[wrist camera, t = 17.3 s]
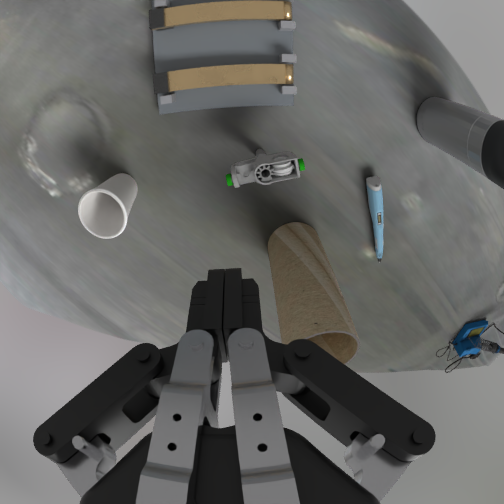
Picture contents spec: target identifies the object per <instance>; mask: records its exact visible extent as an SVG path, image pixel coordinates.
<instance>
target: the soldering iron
mask: <svg viewBox="0 0 504 504" xmlns="http://www.w3.org/2000/svg"><path fill="white" fill-rule="evenodd" d="M487 325H488V321H486V320H481V321H477V322H473V323H468V324H465V325H464V327H463V328H462V330H461V331H460V332H459V334H458V335H457V337H456V338H455V340H454V341H453V342H452V343H451V342H449V346H448V349H449V348H450V343H451V344H453V345H454V349H455V350H456V351H457V353H458V355H459V357H462V358H461V359H459V360H460V362H461V360H462V359H463V358H470V359H475V358H476V357H478V356H479V355H480V351H481V350H482V347H484V348H485V347H486V349H483V350H485V351H488V352H492V353H503V354H504V348H501V347H500V346H499V345H498V344H497V343H494V342H490V341H488V340H485V339H483V340H482V339H481V338H480V335H481V334H482V333H484V332H485V331H486V330H487V329H488V328H489V327H491V326H492V325H494V326H495V324H492V325H491V326H489V327H488V328H487V329H486V330H485V328H486V327H487ZM495 328H496V326H495ZM496 329H497V330H499V329H498V328H496ZM484 330H485V331H484ZM499 331H500V330H499ZM500 332H501V333H503V332H502V331H500ZM503 334H504V333H503ZM480 340H481V341H480ZM484 340H485V343H484ZM482 341H483V343H482ZM486 341H487V343H486ZM488 342H489V343H491V344H489V343H488ZM492 343H493V344H492ZM486 344H487V345H486ZM488 344H489V345H488ZM445 348H446V347H445ZM487 348H488V349H489V350H490V351H489V350H488V349H487ZM442 349H444V348H442ZM448 349H447V350H448ZM454 349H453V350H454ZM440 350H441V349H440ZM447 350H446V351H447ZM438 351H439V350H438ZM438 351H437V352H438ZM437 352H436V356H437ZM445 353H446V352H445ZM445 353H444V354H445ZM444 354H443V355H444ZM449 354H450V351H449ZM468 354H471V355H470V356H469V357H463V356H465V355H468ZM443 355H442V356H443ZM458 355H457V356H458ZM437 357H439V356H437ZM440 357H441V356H440ZM448 357H449V355H448ZM455 357H456V356H455ZM455 357H454V358H455ZM452 359H453V358H452ZM459 360H457V361H459ZM447 361H449V360H448V358H447ZM457 361H456V362H457ZM456 362H454V363H456ZM454 363H453V364H454ZM459 364H460V363H459ZM459 364H458V365H459ZM451 365H452V364H451ZM451 365H450V366H451ZM458 365H457V366H458ZM450 366H448V367H450ZM457 366H456V367H457ZM448 367H447V368H448ZM456 367H455V368H456ZM447 368H446V369H447ZM455 368H454V369H455ZM454 369H452V370H454ZM452 370H451V371H452ZM445 372H446V370H445ZM446 373H448V372H446Z"/></svg>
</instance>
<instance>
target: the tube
mask: <svg viewBox="0 0 504 504" xmlns="http://www.w3.org/2000/svg"><path fill="white" fill-rule="evenodd" d="M268 254H269V260H270V267H271V273H272V280H273V286H274V293H275V299H276V306H277V313H278V319H279V326H280V333H281V340H282V344H287V345H288V344H289V343H290V342H291V341H293V340H296V339H307V340H310V341H313V342H314V343H316V344H317V345H318V346H320V347H321V348H322V349H324V350H325V351H326V352H328V353H329V354H331V355H332V356H333V357H335V358H336V359H337V360H339V361H340V362H342V363H343V364H344V365H346V364H347V363H348V362H350V361H351V360H352V359H353V358H354V357H355V356H356V355H357V353H358V351H359V349H360V341H359V338H358V335H357V333H356V330H355V327H354V324H353V322H352V319H351V316H350V314H349V311H348V308H347V306H346V303H345V300H344V298H343V295H342V293H341V290H340V287H339V285H338V282H337V280H336V277H335V275H334V272H333V270H332V268H331V265H330V263H329V260H328V258H327V255H326V253H325V251H324V248H323V246H322V244H321V241H320V239H319V237H318V234H317V232H316V231H315V230H314V229H313V228H312V227H311V226H309V225H307V224H304V223H301V222H292V223H287V224H285V225H282V226H280V227H279V228H278V229H276V230H275V231H274V232H273V233H272V235H271V236H270V238H269V241H268Z"/></svg>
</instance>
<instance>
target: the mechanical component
mask: <svg viewBox="0 0 504 504" xmlns="http://www.w3.org/2000/svg"><path fill="white" fill-rule="evenodd" d="M299 170H300V171H302V170H305V166H304V162H303V159H297V157H296V156H295V155H294V154H293V153H292V152H281V153H276V154H271V155H267V154H265V151H264V150H263V149H258V150H256V157H255V158H253V159H248V160H244V161H239V162H236V163H234V164H232V165H231V174H227V175H226V180H227V184H228V186H231V185H233V183H234V186H235V188H237V187H240V185H242V184H246V183H251V182H255V181H257V183H260V184H262V185H269V184H271V183H273V182H278V181H283V180H288V179H293V178H298V177H300V172H299ZM289 173H291V174H290V175H288V174H289ZM276 175H277V176H284V175H288V176H285V177H276Z"/></svg>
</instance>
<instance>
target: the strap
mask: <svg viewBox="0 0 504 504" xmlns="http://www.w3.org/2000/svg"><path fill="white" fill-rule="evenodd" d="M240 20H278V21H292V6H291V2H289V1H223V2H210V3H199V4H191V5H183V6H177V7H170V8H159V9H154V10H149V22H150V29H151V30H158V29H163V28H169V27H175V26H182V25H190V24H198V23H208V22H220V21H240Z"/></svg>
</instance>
